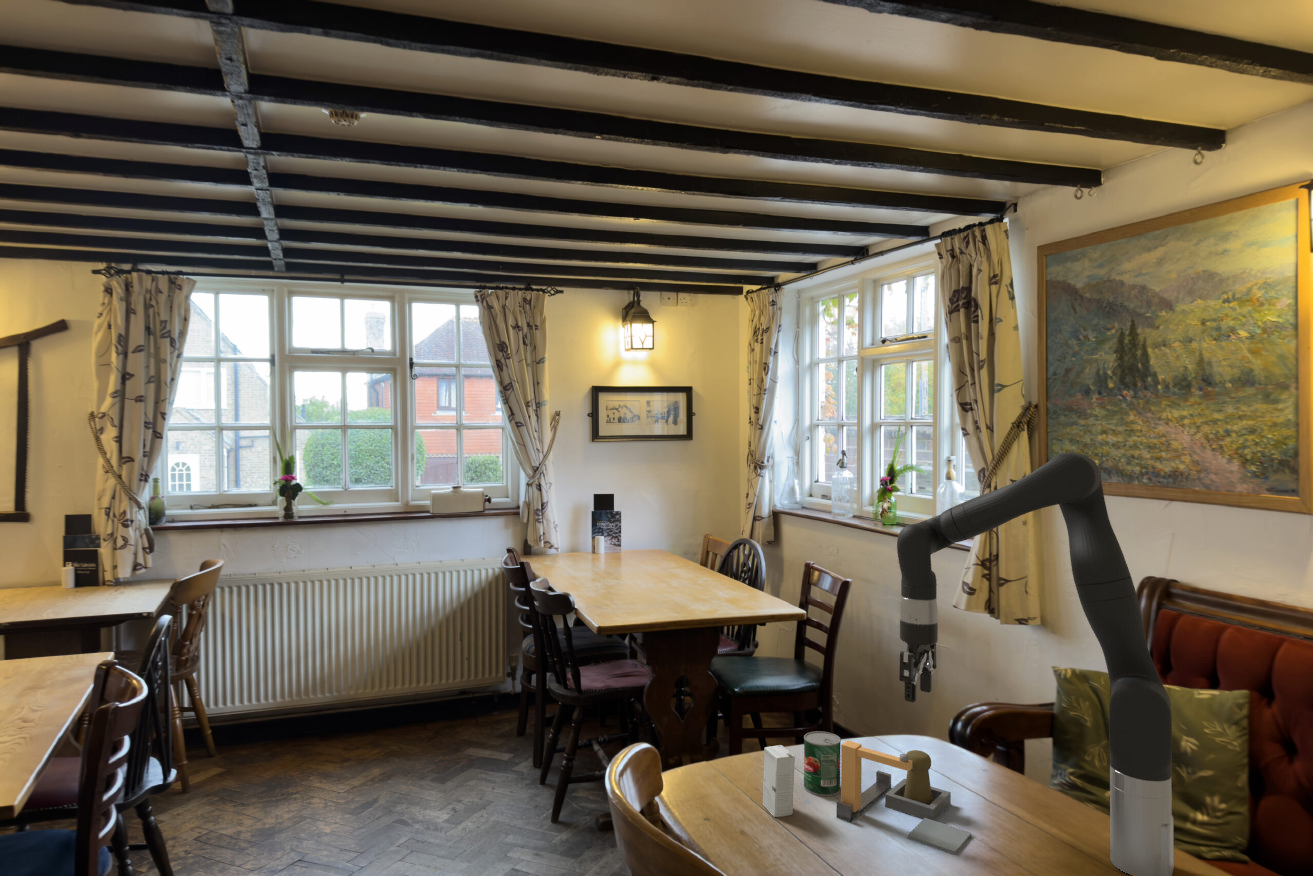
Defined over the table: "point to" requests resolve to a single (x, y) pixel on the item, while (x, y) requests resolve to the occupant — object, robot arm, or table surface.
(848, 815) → the rail
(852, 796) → the orange angled bracket
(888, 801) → the socket
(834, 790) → the canned tomato
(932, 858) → the table surface
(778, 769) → the skincare box
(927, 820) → the coaster
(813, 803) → the table surface
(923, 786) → the cork
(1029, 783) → the table surface
